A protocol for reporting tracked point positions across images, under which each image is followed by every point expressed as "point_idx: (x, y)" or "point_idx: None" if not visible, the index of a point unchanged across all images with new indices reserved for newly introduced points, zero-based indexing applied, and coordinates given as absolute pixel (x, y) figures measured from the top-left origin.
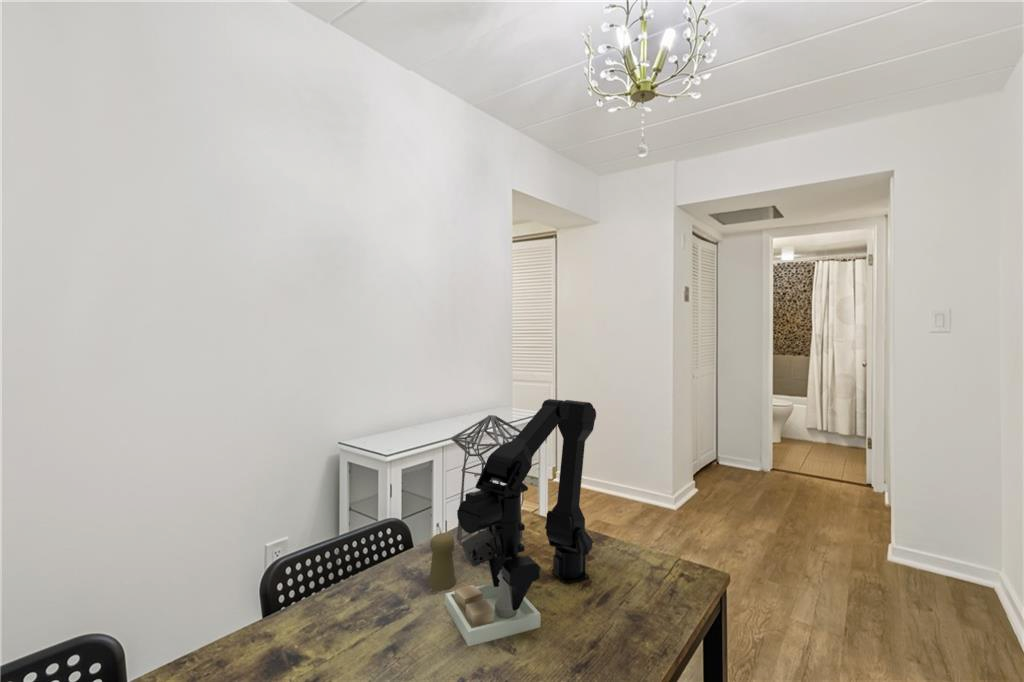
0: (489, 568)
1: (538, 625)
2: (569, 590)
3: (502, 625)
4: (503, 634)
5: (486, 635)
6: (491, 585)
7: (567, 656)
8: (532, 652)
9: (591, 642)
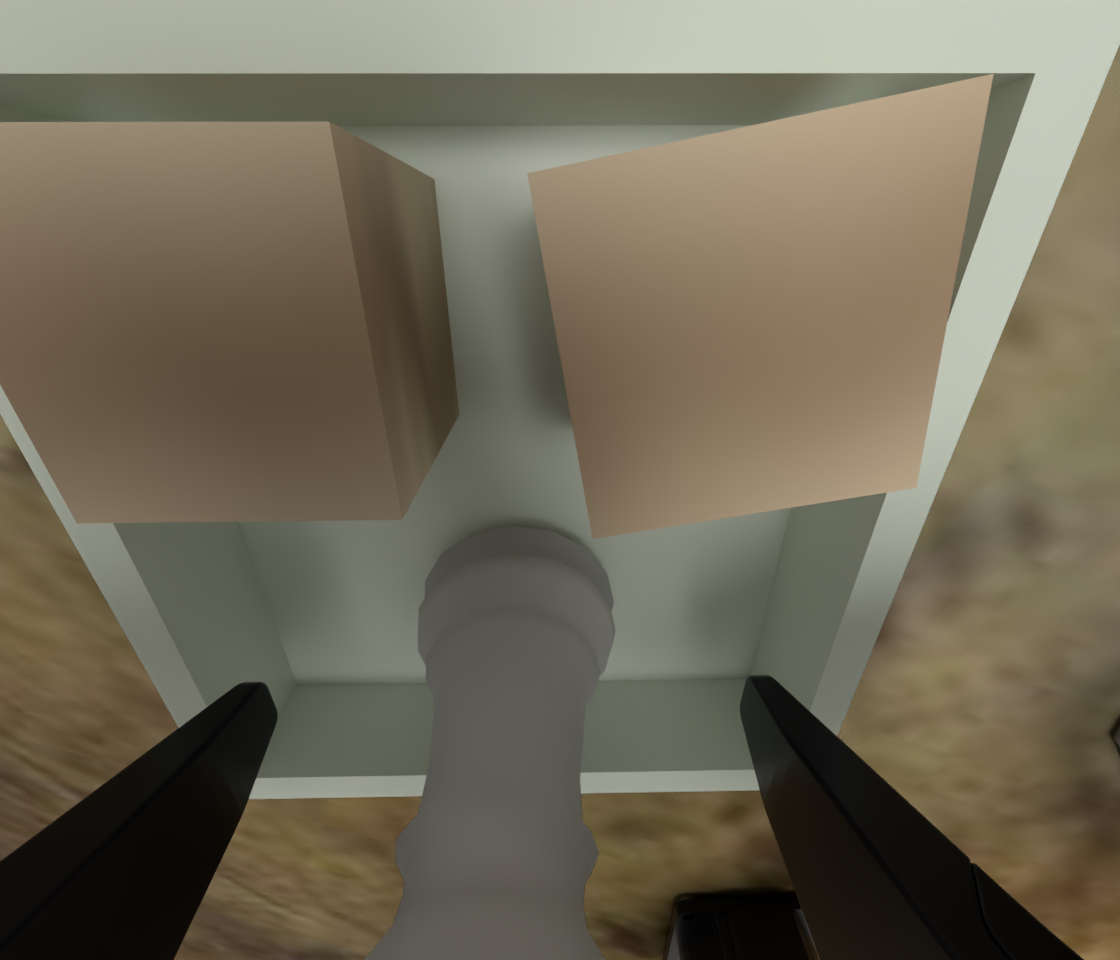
0: (974, 886)
1: None
2: (617, 889)
3: None
4: None
5: None
6: (830, 654)
7: (14, 708)
8: (43, 574)
9: None
